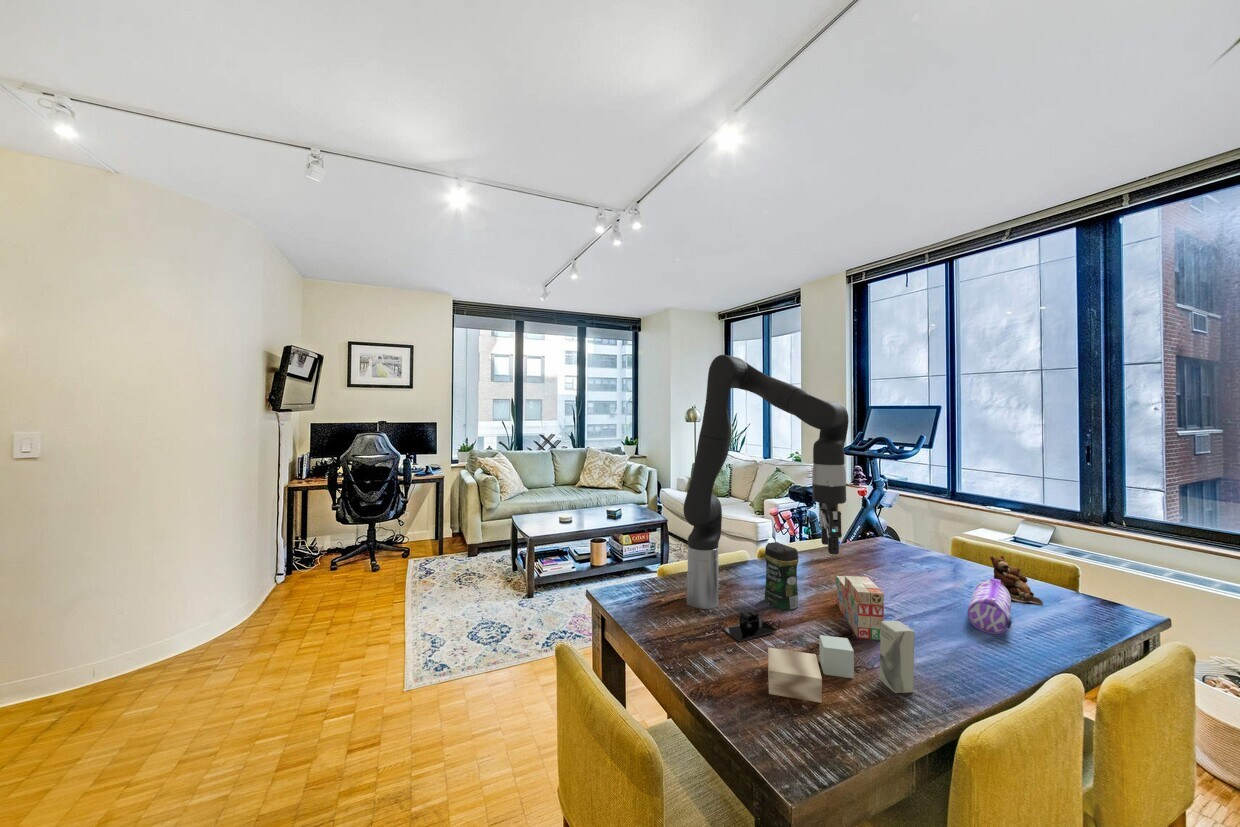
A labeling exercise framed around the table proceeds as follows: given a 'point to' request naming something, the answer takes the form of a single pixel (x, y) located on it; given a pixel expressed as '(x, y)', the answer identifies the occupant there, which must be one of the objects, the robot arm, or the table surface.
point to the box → (897, 656)
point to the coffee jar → (781, 576)
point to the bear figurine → (1013, 581)
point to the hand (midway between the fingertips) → (829, 548)
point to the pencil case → (990, 607)
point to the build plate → (749, 627)
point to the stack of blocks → (861, 605)
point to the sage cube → (836, 656)
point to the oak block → (794, 675)
